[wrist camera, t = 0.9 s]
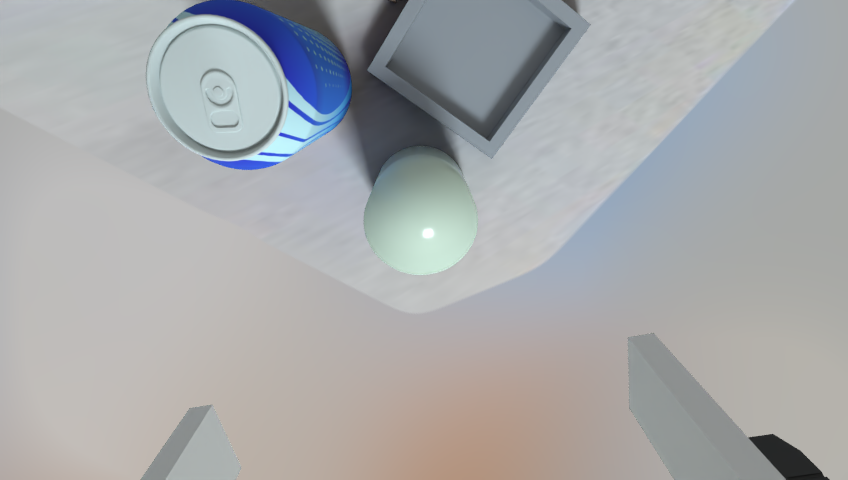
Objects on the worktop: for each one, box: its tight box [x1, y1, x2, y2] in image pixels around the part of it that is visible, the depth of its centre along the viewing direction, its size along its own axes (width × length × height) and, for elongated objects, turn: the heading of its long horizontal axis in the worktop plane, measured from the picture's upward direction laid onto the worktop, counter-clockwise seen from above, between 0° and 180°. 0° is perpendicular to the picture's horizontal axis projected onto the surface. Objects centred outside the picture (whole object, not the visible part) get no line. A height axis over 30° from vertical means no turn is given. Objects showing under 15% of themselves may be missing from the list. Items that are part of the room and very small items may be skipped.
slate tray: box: [367, 0, 591, 159], centre depth 33 cm, size 12×12×2 cm
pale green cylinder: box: [364, 146, 478, 275], centre depth 34 cm, size 8×8×9 cm
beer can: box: [146, 0, 352, 170], centre depth 28 cm, size 8×8×16 cm
